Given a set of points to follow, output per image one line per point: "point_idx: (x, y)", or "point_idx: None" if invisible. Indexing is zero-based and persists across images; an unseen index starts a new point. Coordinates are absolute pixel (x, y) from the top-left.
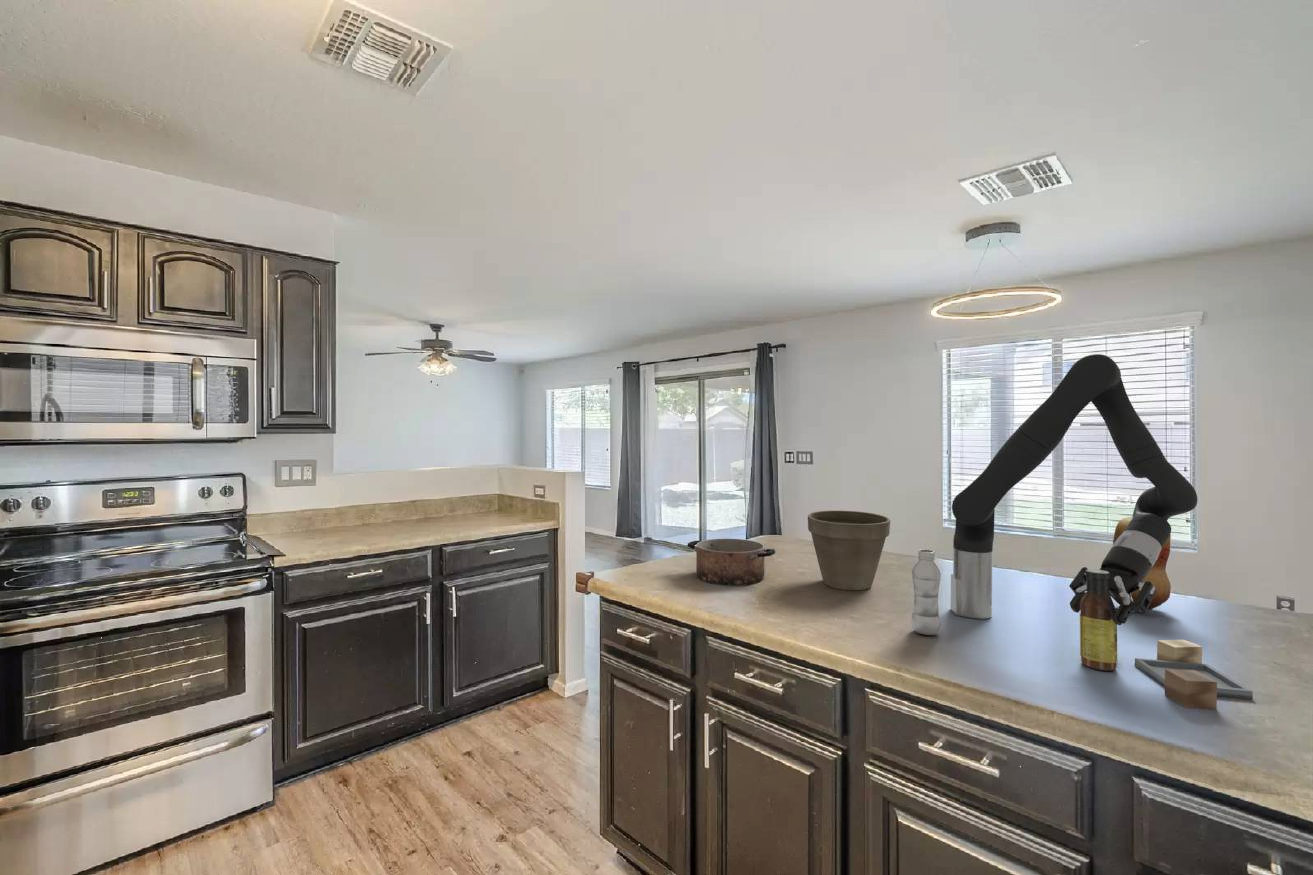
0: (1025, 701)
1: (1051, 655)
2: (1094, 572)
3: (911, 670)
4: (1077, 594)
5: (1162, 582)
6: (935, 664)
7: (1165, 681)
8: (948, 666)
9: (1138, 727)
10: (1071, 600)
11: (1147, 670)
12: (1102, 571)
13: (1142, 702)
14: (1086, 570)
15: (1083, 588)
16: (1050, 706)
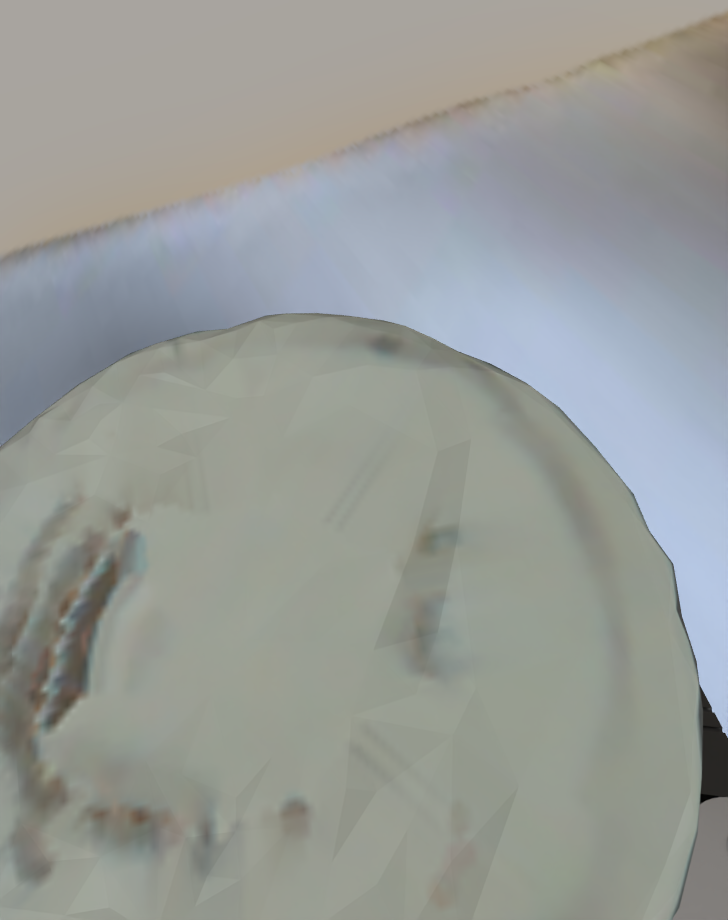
0: (337, 155)
1: None
2: (231, 338)
3: (666, 38)
4: (702, 764)
5: None
6: (692, 119)
7: None
8: (659, 142)
9: (63, 280)
10: (714, 717)
11: None
12: (108, 792)
13: None
14: (556, 416)
15: (721, 898)
16: (277, 187)
